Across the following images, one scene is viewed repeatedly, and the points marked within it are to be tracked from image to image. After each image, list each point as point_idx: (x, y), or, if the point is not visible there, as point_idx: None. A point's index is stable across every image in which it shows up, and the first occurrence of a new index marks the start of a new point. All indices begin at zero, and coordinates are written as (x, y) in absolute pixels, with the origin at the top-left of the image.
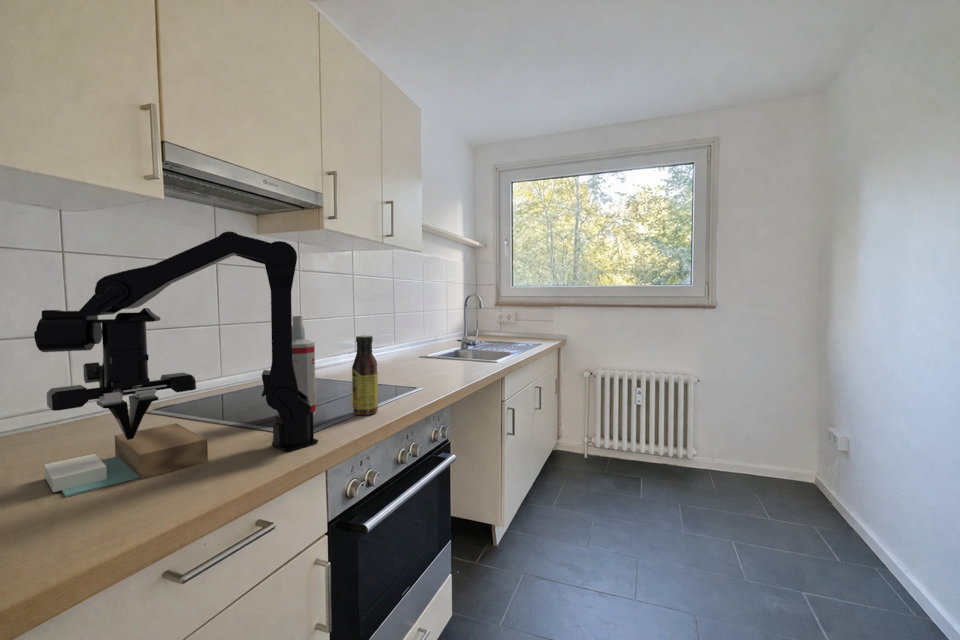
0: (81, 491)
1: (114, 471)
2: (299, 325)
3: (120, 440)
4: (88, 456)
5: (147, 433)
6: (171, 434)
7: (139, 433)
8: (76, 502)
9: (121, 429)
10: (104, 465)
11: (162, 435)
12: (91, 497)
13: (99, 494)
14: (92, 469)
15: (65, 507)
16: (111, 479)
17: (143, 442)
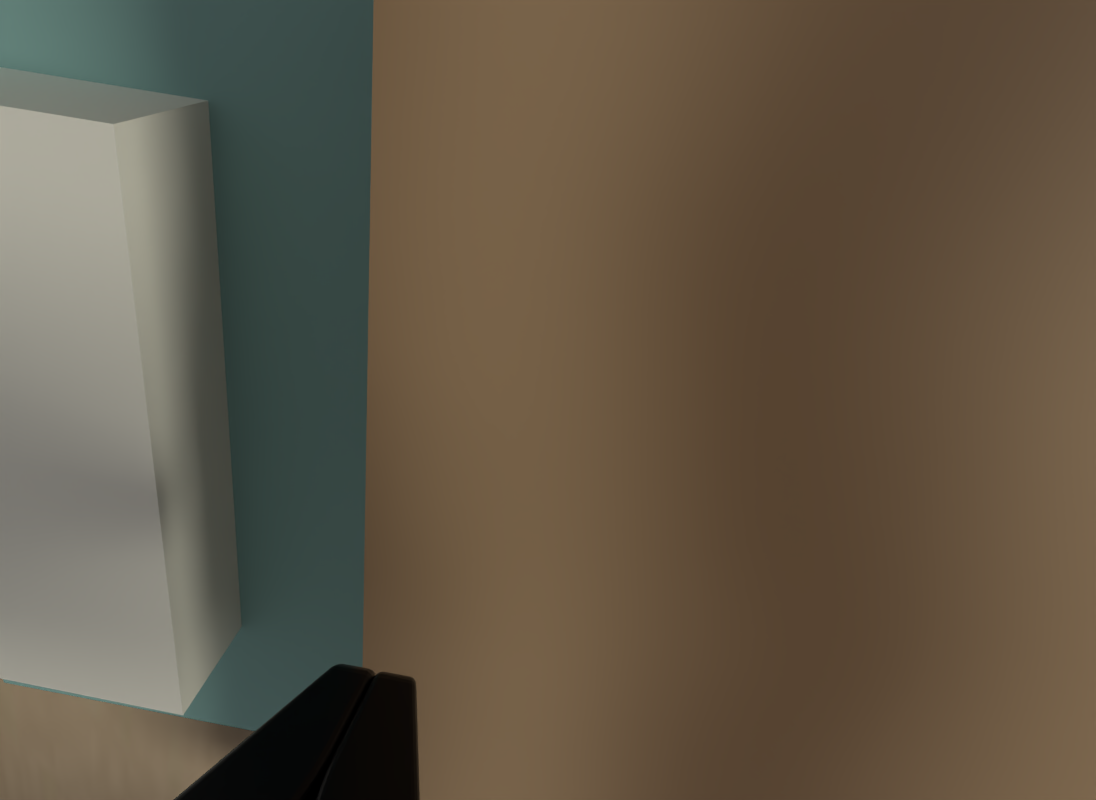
0: (87, 697)
1: (318, 513)
2: None
3: (372, 293)
4: (47, 187)
5: (837, 310)
6: (960, 721)
7: (762, 148)
8: (73, 781)
9: (201, 788)
10: (171, 682)
11: (862, 661)
12: (142, 785)
13: (182, 783)
14: (84, 686)
15: (28, 793)
16: (264, 665)
17: (535, 727)
